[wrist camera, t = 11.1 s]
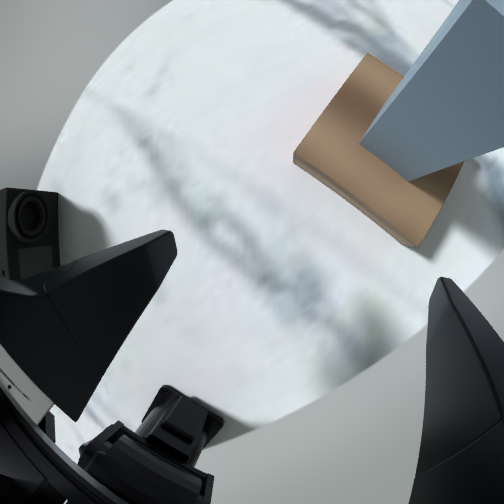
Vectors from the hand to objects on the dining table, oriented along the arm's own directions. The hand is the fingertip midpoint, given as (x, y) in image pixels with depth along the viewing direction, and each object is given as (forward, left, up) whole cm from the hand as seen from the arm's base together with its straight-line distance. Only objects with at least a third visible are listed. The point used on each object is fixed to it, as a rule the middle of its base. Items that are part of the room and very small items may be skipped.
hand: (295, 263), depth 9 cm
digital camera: (-12, +20, -12) cm, 26 cm away
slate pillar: (+10, -2, -9) cm, 13 cm away
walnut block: (+10, -2, -12) cm, 15 cm away
